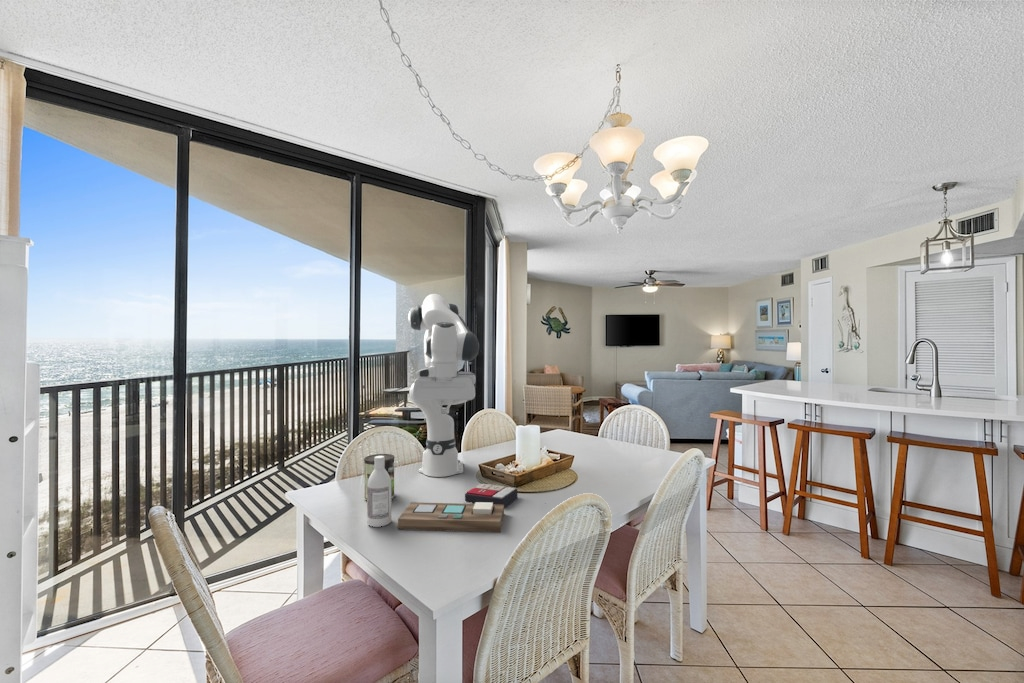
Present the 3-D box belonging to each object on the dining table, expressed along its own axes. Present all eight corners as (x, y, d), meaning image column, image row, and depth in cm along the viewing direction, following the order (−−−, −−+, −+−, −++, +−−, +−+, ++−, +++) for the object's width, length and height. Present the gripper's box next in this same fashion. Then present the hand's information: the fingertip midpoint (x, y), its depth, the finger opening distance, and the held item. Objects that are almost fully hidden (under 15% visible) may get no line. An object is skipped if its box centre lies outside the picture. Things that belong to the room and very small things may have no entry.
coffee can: (396, 491, 158) (396, 453, 158) (391, 502, 148) (391, 460, 148) (368, 492, 157) (368, 453, 157) (360, 503, 147) (360, 461, 147)
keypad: (411, 511, 139) (411, 501, 139) (503, 513, 137) (503, 503, 137) (397, 529, 126) (397, 517, 126) (500, 531, 124) (500, 520, 124)
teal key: (447, 511, 136) (447, 505, 136) (464, 512, 136) (464, 505, 136) (443, 518, 131) (443, 512, 131) (461, 519, 130) (461, 512, 130)
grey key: (419, 510, 137) (419, 504, 137) (436, 511, 137) (436, 505, 137) (414, 518, 131) (414, 511, 131) (431, 518, 131) (431, 511, 131)
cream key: (475, 508, 136) (475, 502, 136) (493, 508, 135) (493, 502, 135) (472, 515, 130) (472, 508, 130) (491, 516, 130) (491, 509, 130)
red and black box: (480, 482, 158) (517, 486, 151) (481, 494, 158) (518, 498, 151) (464, 491, 148) (502, 496, 141) (464, 504, 148) (503, 510, 141)
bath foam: (374, 517, 135) (374, 453, 135) (395, 518, 134) (395, 454, 134) (363, 527, 128) (363, 459, 128) (385, 528, 127) (385, 460, 127)
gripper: (477, 370, 145) (477, 412, 145) (417, 370, 146) (417, 411, 146) (474, 372, 139) (474, 415, 139) (411, 371, 140) (411, 414, 140)
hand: (444, 413), depth 143 cm, fingers closed
